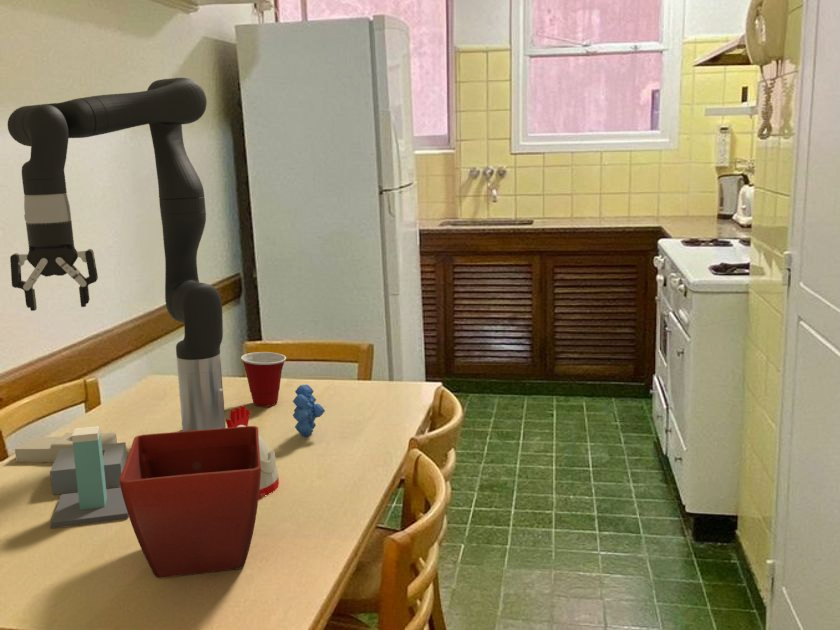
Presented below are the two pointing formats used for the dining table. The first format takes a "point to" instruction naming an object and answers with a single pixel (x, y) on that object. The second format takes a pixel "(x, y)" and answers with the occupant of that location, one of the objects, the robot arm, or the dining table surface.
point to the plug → (89, 467)
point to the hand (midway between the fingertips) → (58, 308)
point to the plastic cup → (264, 376)
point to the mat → (89, 510)
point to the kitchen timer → (267, 457)
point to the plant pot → (193, 498)
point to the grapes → (306, 410)
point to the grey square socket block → (66, 472)
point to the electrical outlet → (51, 447)
